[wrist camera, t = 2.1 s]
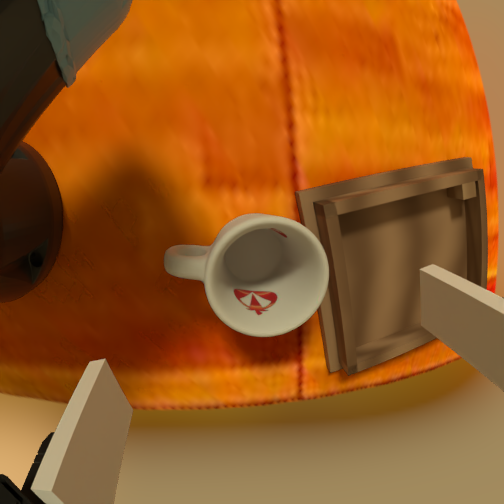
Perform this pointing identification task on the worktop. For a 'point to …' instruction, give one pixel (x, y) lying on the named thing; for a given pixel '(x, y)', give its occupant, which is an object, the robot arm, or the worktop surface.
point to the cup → (257, 273)
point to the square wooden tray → (392, 253)
